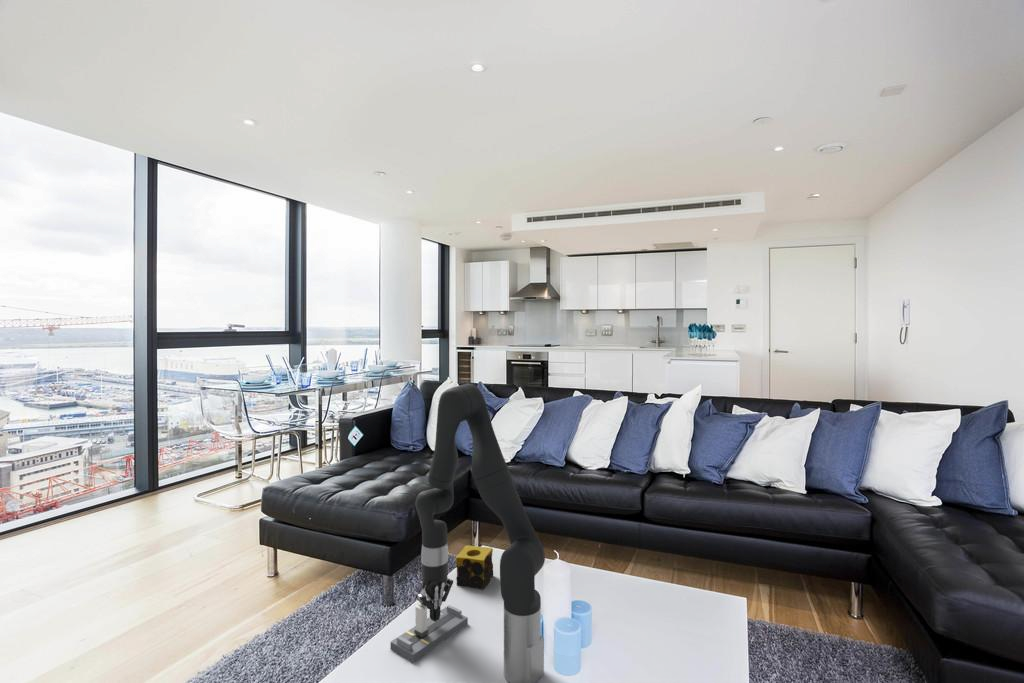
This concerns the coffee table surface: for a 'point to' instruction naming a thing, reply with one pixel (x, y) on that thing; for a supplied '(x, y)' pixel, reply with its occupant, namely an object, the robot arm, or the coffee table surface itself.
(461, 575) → the candle
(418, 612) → the fader
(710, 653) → the coffee table surface
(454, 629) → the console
